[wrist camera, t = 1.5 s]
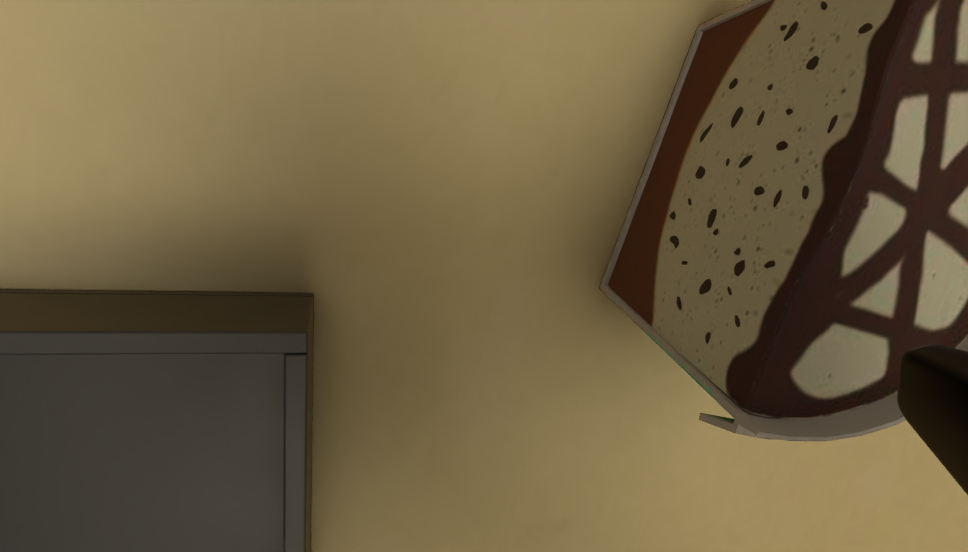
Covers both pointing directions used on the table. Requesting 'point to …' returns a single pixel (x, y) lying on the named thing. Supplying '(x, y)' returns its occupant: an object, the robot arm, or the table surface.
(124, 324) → the dark gray square tray
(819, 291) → the food container
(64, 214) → the table surface
